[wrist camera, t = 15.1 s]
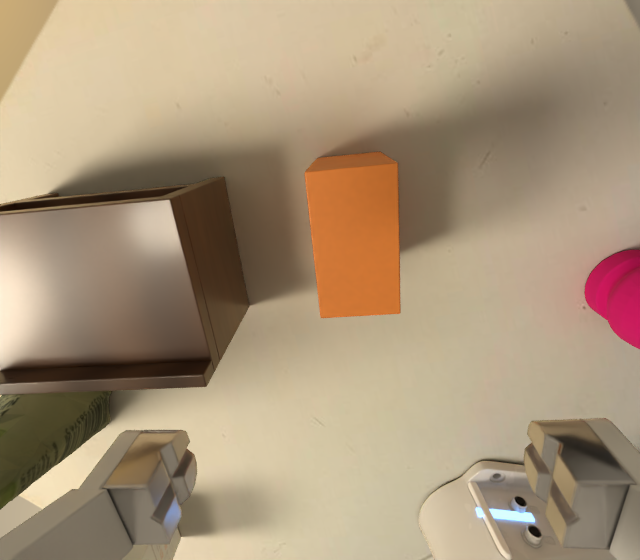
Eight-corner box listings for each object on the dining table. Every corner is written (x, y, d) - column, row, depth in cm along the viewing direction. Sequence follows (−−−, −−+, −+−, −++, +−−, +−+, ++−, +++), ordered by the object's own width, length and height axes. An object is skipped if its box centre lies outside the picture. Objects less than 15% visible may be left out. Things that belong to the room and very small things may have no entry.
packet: (381, 151, 28) (399, 162, 19) (384, 259, 31) (401, 313, 22) (316, 157, 29) (303, 171, 19) (326, 263, 32) (319, 318, 23)
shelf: (224, 176, 30) (156, 203, 19) (249, 306, 34) (206, 387, 23) (45, 194, 31) (-111, 228, 20) (92, 316, 36) (-15, 396, 25)
